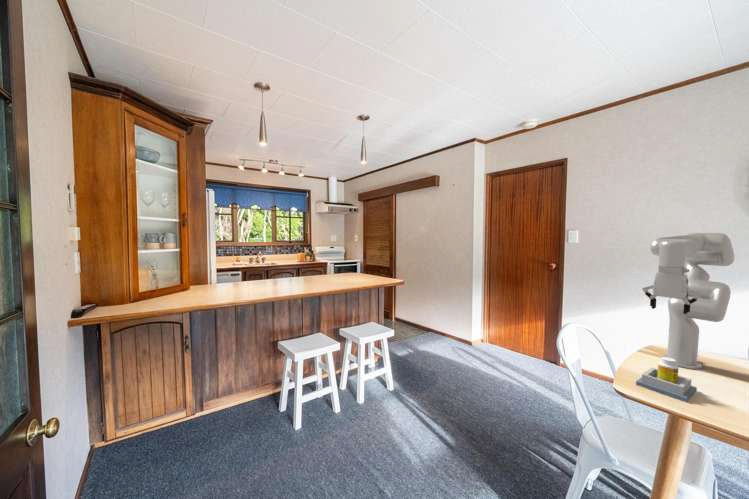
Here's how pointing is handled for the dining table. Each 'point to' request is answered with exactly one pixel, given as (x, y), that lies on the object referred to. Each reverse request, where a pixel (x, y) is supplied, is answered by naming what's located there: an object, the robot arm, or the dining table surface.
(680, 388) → the tray
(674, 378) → the supplement bottle
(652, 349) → the dining table surface
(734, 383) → the dining table surface
